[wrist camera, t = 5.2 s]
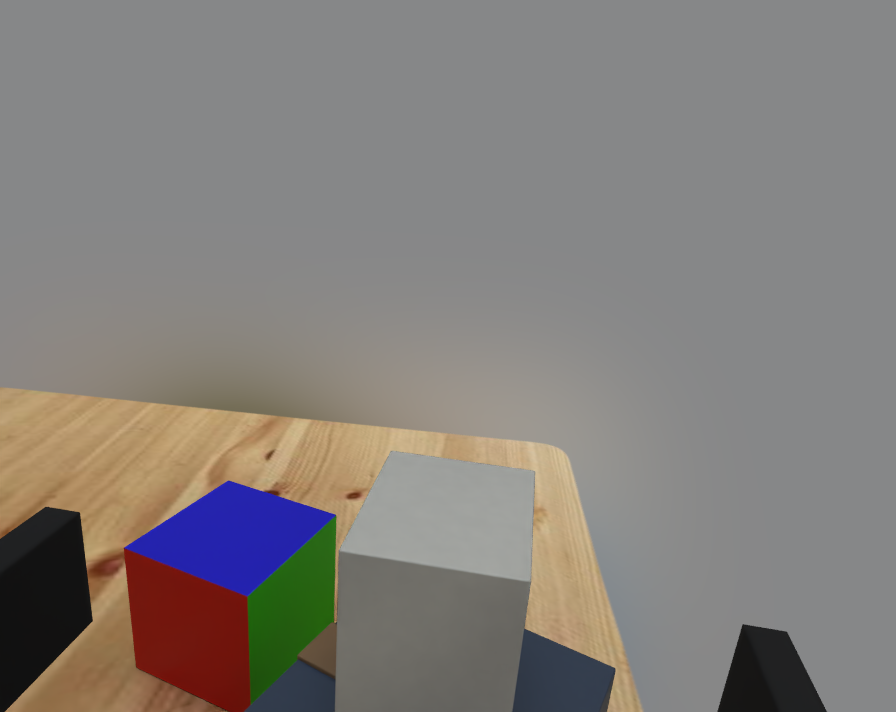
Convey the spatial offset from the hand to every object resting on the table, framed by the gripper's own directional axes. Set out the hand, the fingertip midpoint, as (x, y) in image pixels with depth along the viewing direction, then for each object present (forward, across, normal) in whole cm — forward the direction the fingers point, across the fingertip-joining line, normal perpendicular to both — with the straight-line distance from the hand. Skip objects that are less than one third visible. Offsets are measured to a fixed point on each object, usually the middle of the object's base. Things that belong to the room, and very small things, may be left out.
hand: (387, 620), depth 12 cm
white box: (+10, 0, -12) cm, 16 cm away
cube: (+19, -12, -21) cm, 31 cm away
